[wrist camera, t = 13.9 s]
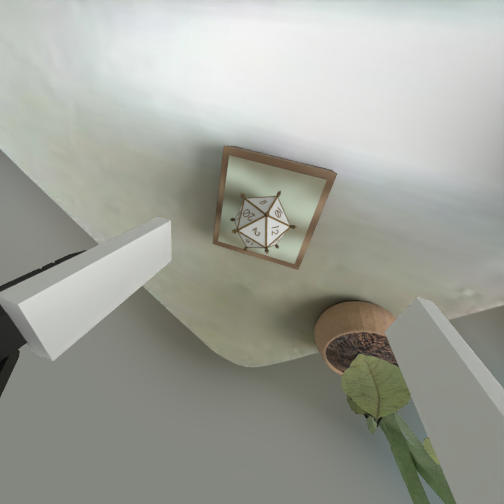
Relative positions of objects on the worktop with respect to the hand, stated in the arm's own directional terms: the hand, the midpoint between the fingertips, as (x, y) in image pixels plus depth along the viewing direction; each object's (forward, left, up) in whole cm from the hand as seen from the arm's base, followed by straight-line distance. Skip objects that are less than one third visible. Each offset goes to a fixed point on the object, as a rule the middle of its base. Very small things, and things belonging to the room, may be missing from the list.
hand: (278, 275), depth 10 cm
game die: (+4, -3, -20) cm, 21 cm away
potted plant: (+22, +21, -26) cm, 39 cm away
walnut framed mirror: (+4, -3, -25) cm, 26 cm away
